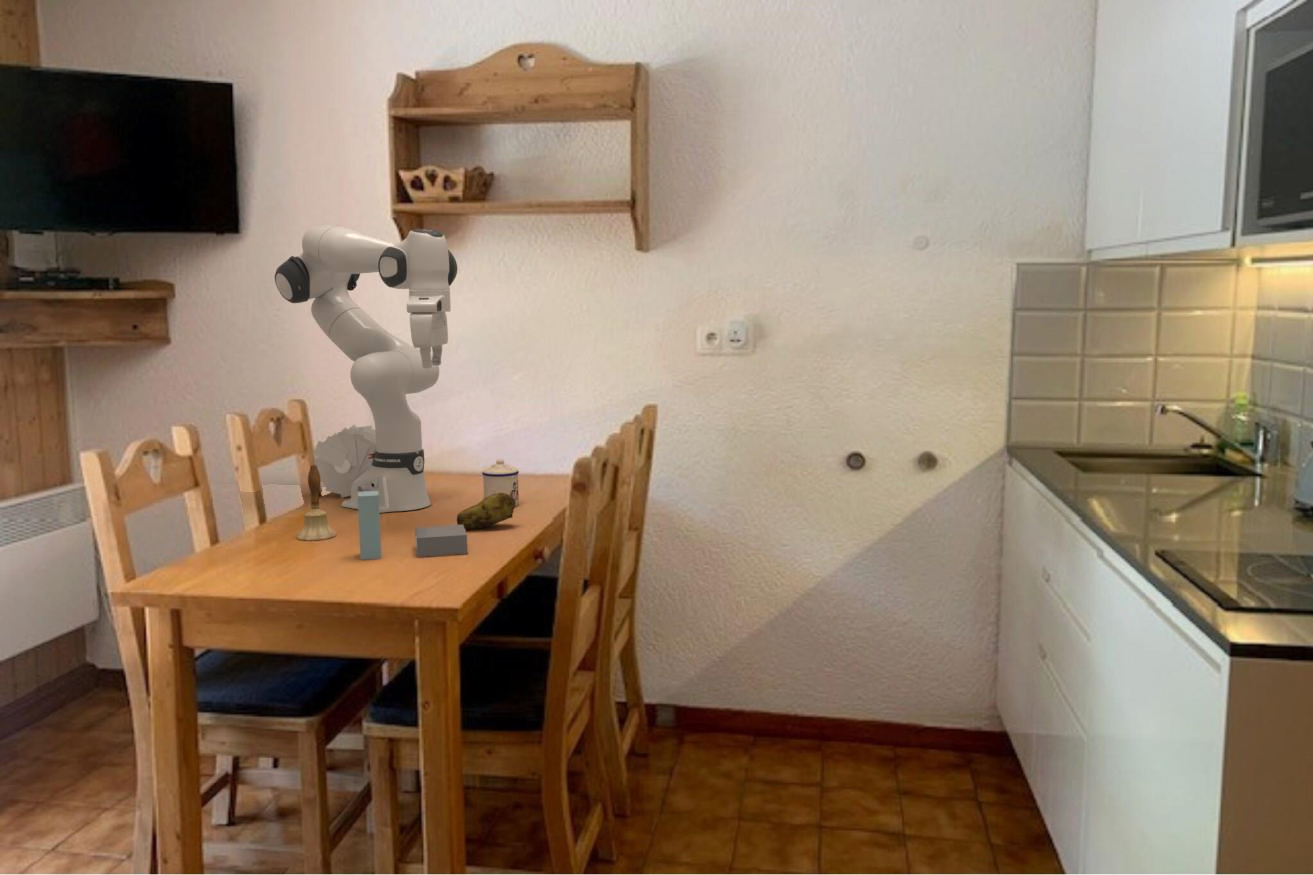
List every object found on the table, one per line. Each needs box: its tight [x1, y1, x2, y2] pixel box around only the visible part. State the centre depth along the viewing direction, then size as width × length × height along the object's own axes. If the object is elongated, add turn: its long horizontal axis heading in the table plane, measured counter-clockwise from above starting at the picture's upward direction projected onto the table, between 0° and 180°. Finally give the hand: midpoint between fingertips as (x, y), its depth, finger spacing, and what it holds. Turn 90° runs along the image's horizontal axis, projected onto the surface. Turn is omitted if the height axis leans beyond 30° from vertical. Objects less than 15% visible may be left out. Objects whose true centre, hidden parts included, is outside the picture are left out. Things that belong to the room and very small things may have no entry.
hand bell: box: [296, 464, 337, 541], centre depth 229 cm, size 8×8×16 cm
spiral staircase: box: [312, 423, 377, 499], centre depth 282 cm, size 18×18×25 cm
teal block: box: [357, 491, 382, 561], centre depth 212 cm, size 4×5×13 cm
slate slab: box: [414, 524, 468, 558], centre depth 217 cm, size 10×10×4 cm
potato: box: [456, 493, 516, 530], centre depth 237 cm, size 8×13×8 cm, turn 87°
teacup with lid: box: [481, 459, 520, 507], centre depth 263 cm, size 12×9×12 cm
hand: (432, 366), depth 231 cm, fingers open, 8 cm apart
